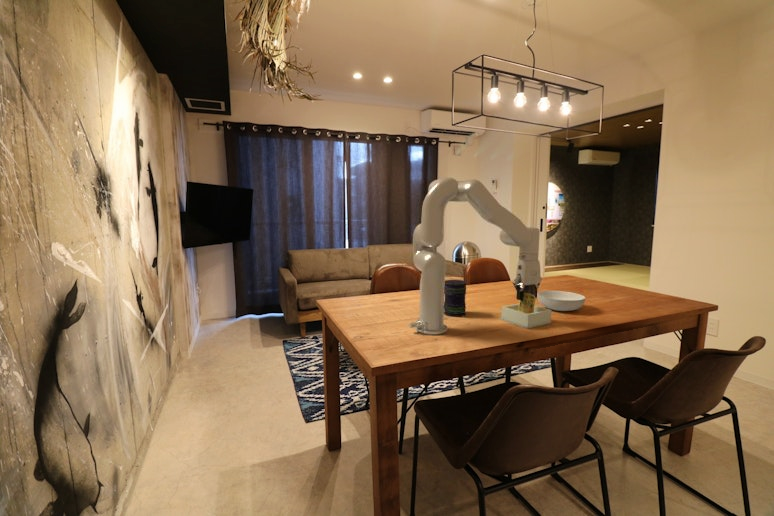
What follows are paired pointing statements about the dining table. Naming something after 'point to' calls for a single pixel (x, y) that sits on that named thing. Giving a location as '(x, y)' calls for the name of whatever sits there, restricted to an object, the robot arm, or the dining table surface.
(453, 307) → the rusty oil drum
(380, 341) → the dining table surface
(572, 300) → the serving bowl
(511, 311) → the bin
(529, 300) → the sauce bottle
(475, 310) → the dining table surface
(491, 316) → the dining table surface
